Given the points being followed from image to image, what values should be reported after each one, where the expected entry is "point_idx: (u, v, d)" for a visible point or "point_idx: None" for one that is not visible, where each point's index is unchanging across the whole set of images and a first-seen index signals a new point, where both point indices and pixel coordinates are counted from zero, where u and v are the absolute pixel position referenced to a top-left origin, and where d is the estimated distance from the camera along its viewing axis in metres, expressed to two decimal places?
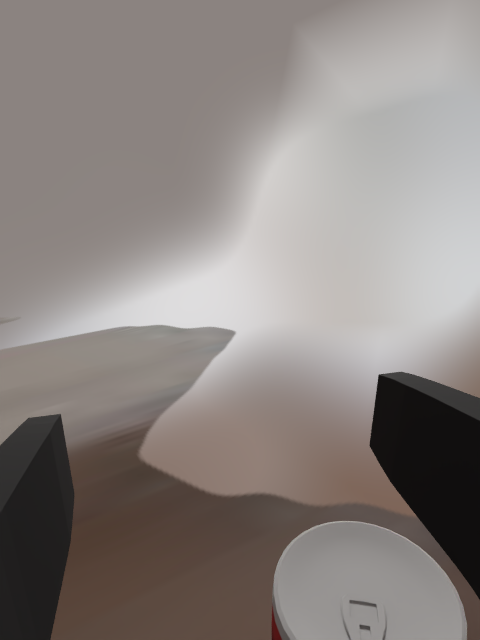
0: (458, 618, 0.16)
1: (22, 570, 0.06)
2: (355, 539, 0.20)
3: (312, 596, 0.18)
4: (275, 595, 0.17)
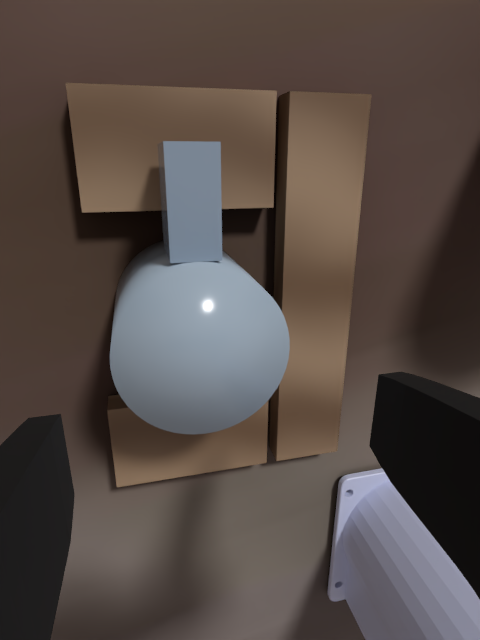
0: None
1: (22, 570, 0.06)
2: None
3: None
4: None
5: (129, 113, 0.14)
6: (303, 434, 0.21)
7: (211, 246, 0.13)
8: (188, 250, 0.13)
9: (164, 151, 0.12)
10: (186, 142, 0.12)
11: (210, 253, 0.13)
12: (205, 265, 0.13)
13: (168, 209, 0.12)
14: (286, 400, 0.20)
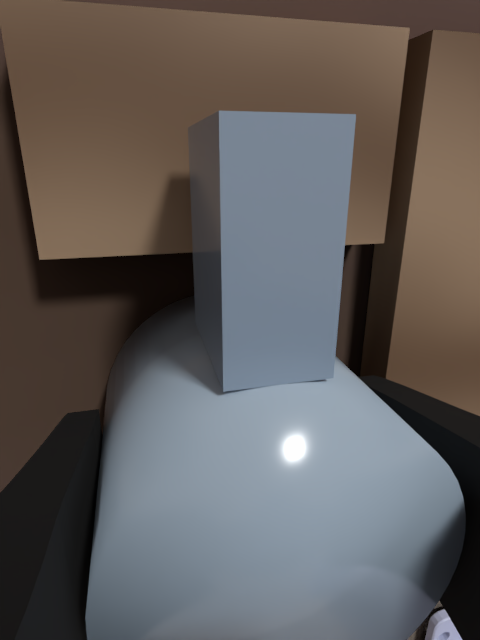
0: None
1: (77, 559, 0.06)
2: None
3: None
4: None
5: (130, 65, 0.07)
6: None
7: (313, 351, 0.06)
8: (264, 363, 0.06)
9: (220, 137, 0.05)
10: (276, 114, 0.05)
11: (310, 365, 0.06)
12: (307, 403, 0.05)
13: (224, 277, 0.05)
14: None
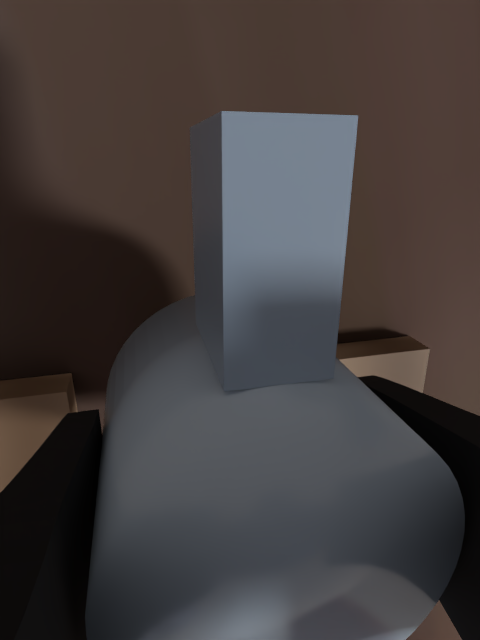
0: None
1: (77, 559, 0.06)
2: None
3: None
4: None
5: None
6: None
7: (314, 351, 0.06)
8: (264, 363, 0.06)
9: (222, 138, 0.05)
10: (278, 115, 0.05)
11: (310, 366, 0.06)
12: (307, 404, 0.05)
13: (226, 277, 0.05)
14: None
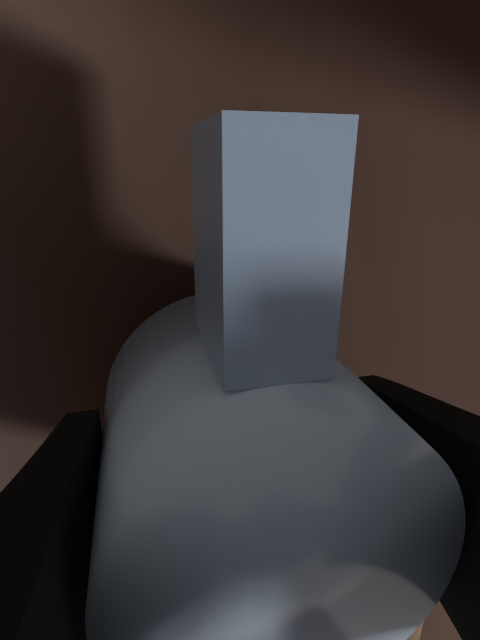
0: None
1: (77, 559, 0.06)
2: None
3: None
4: None
5: None
6: None
7: (314, 351, 0.06)
8: (265, 363, 0.06)
9: (223, 137, 0.05)
10: (279, 114, 0.05)
11: (311, 366, 0.06)
12: (308, 403, 0.05)
13: (226, 277, 0.05)
14: None
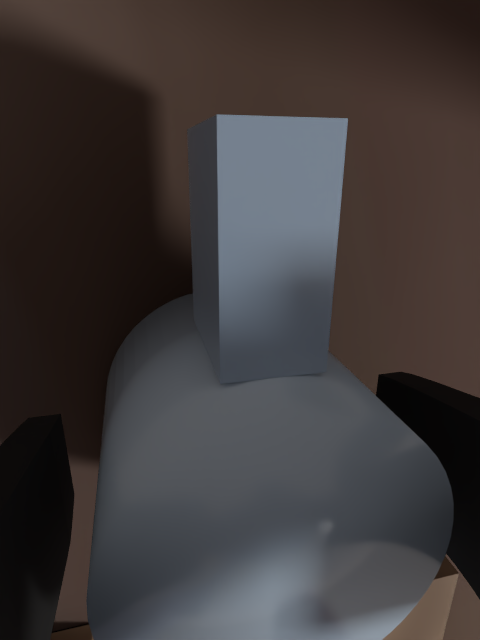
0: None
1: (22, 570, 0.06)
2: None
3: None
4: None
5: (428, 617, 0.15)
6: None
7: (307, 346, 0.06)
8: (259, 356, 0.06)
9: (217, 140, 0.05)
10: (271, 118, 0.05)
11: (303, 359, 0.06)
12: (300, 395, 0.06)
13: (221, 273, 0.05)
14: None
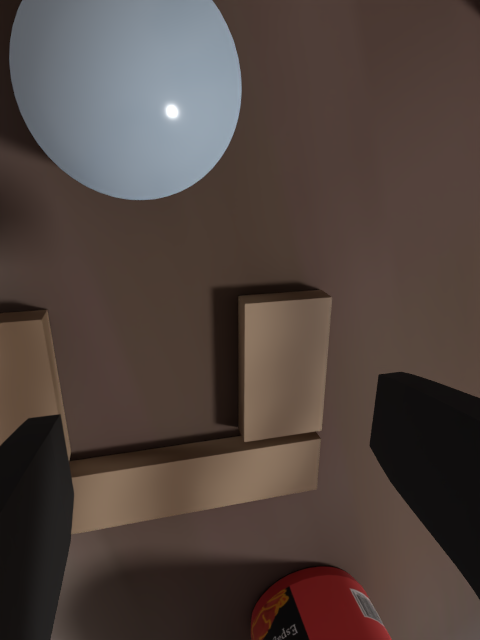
0: None
1: (22, 570, 0.06)
2: None
3: None
4: None
5: (312, 338, 0.19)
6: None
7: None
8: None
9: None
10: None
11: None
12: None
13: None
14: None
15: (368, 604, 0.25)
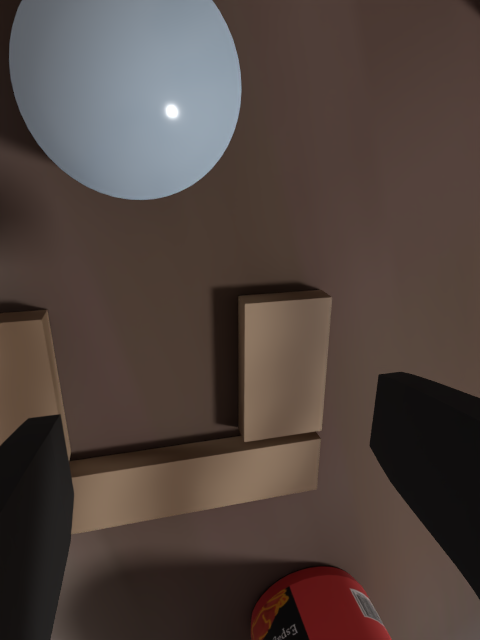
0: None
1: (22, 570, 0.06)
2: None
3: None
4: None
5: (312, 338, 0.19)
6: None
7: None
8: None
9: None
10: None
11: None
12: None
13: None
14: None
15: (368, 604, 0.25)
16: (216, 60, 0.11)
